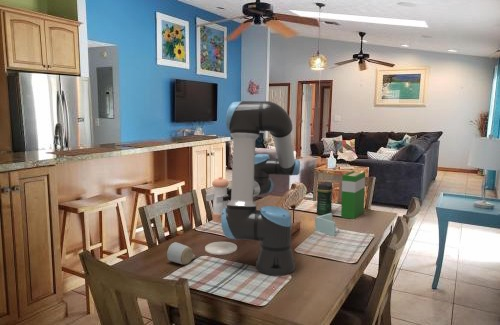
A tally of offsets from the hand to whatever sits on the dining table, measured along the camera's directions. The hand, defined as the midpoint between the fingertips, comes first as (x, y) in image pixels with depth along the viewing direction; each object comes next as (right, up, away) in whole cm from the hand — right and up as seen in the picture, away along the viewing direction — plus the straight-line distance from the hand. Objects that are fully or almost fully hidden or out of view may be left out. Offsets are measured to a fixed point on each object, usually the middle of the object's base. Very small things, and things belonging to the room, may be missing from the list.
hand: (211, 199), depth 163 cm
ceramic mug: (-11, -25, -6) cm, 28 cm away
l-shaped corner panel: (+57, -20, +31) cm, 68 cm away
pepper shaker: (+4, -10, +5) cm, 12 cm away
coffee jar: (+59, -15, +62) cm, 87 cm away
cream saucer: (+3, -23, +7) cm, 24 cm away
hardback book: (+76, -15, +61) cm, 98 cm away
